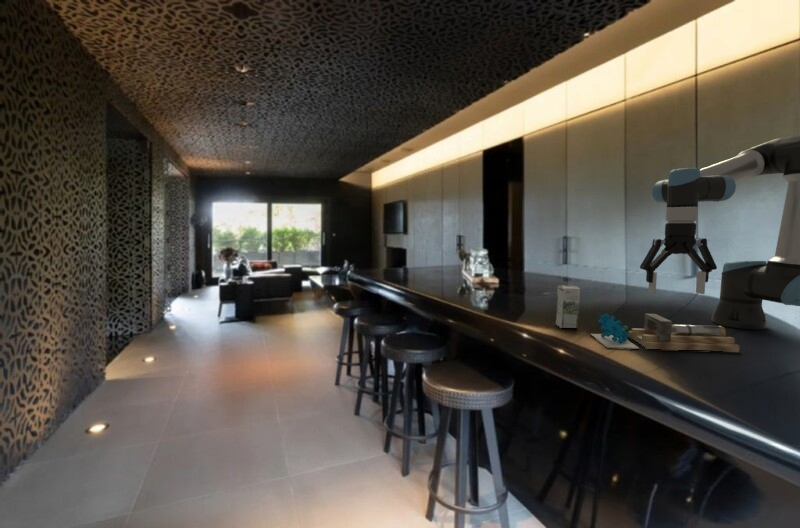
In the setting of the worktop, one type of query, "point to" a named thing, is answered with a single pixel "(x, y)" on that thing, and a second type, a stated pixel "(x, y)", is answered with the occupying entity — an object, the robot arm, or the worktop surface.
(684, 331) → the shaft
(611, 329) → the blue knobby toy
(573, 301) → the syrup box
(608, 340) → the pad
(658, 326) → the stepped wooden platform
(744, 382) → the worktop surface
